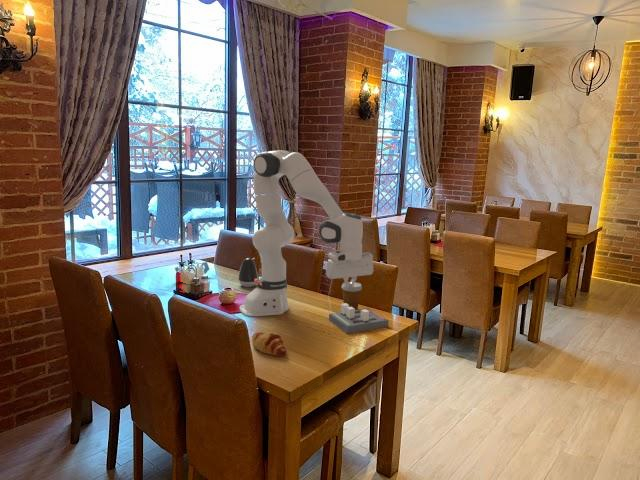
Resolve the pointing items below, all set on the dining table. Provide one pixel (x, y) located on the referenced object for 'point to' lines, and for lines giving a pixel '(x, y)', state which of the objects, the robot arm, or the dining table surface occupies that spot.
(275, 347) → the croissant
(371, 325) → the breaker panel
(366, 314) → the breaker front
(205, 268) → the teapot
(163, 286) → the dining table surface
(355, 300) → the disposable coffee cup
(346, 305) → the breaker back
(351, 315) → the breaker middle
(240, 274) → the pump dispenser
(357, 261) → the robot arm
